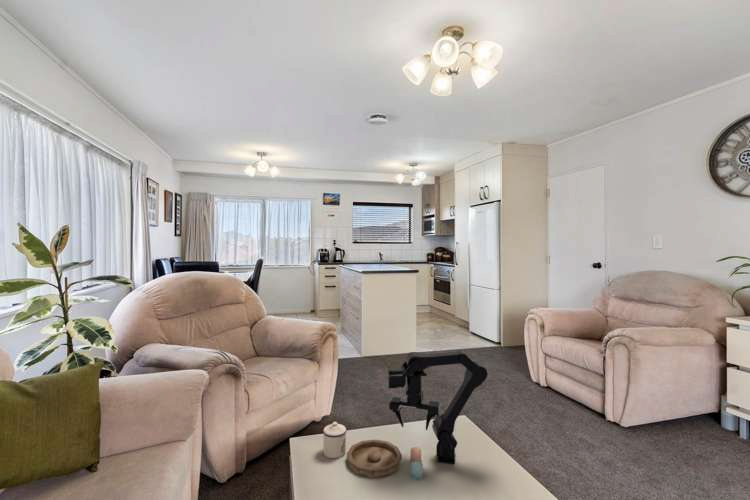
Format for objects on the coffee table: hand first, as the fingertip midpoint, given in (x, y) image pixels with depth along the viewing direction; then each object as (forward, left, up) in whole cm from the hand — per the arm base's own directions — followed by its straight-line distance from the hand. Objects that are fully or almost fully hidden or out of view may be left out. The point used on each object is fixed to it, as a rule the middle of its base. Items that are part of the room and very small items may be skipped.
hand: (414, 428), depth 134 cm
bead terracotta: (-1, 0, -12) cm, 12 cm away
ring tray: (+14, +5, -12) cm, 19 cm away
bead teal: (-3, +9, -12) cm, 15 cm away
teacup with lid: (+31, +3, -12) cm, 34 cm away
